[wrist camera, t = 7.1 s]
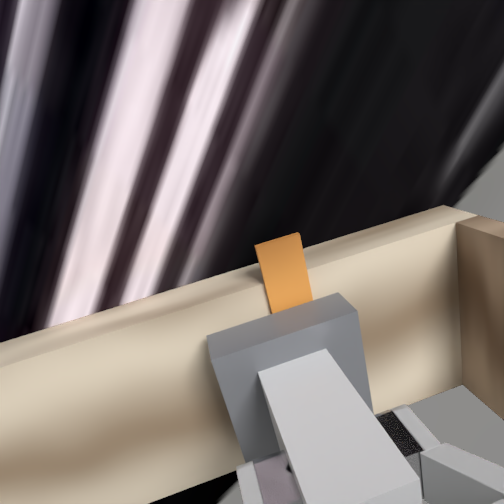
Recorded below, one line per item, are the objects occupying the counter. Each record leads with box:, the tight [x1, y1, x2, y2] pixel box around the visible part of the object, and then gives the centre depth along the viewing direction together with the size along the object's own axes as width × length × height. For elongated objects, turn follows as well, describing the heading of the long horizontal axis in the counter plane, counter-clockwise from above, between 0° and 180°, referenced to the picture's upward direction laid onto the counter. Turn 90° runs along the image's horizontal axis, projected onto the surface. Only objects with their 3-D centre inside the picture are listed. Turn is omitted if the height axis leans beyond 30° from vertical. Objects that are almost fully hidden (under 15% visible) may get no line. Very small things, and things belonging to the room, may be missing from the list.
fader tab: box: [206, 292, 422, 504], centre depth 11 cm, size 6×5×6 cm
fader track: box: [0, 205, 504, 504], centre depth 14 cm, size 11×30×5 cm, turn 104°
